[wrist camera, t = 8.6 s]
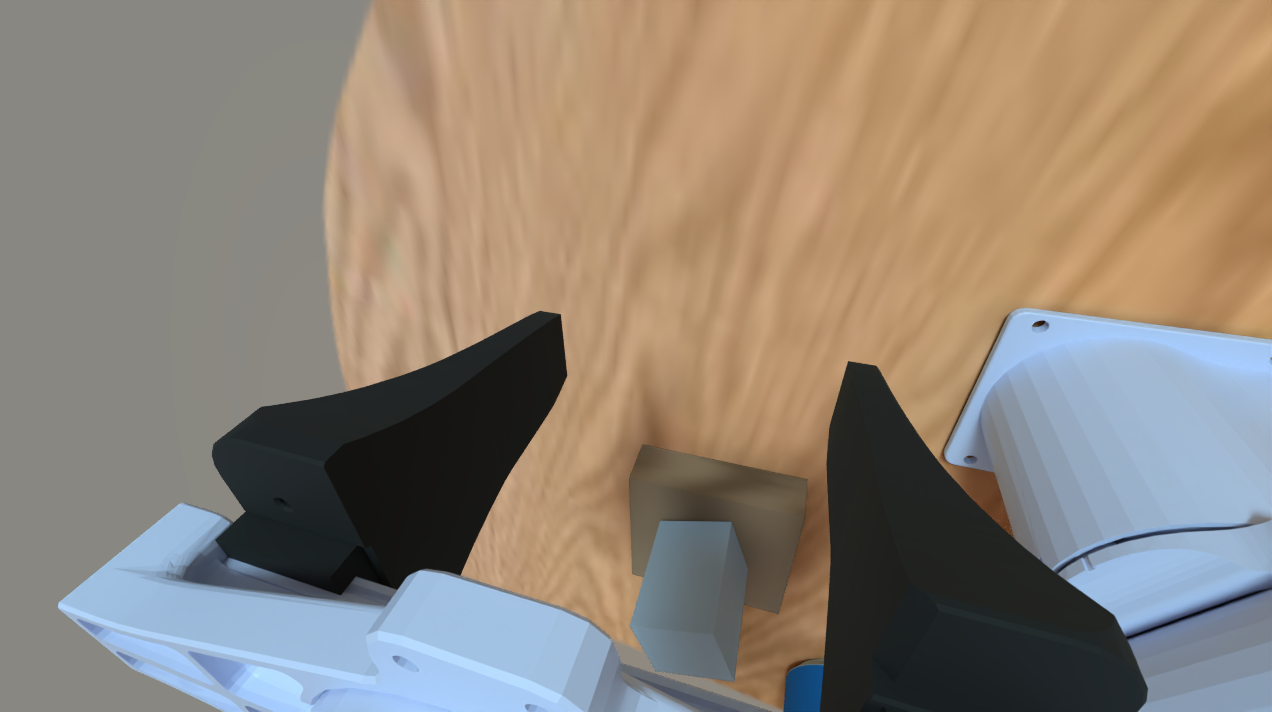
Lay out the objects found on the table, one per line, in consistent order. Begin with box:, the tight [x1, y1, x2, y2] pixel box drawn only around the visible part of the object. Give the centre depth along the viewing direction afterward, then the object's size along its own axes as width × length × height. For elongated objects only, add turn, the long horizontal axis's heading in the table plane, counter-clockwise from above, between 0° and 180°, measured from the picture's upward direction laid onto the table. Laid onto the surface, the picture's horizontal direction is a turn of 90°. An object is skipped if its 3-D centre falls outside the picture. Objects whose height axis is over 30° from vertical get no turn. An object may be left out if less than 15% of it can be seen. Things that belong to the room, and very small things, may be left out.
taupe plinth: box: [629, 445, 807, 614], centre depth 31 cm, size 9×9×3 cm
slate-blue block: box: [630, 521, 748, 682], centre depth 27 cm, size 4×4×6 cm
